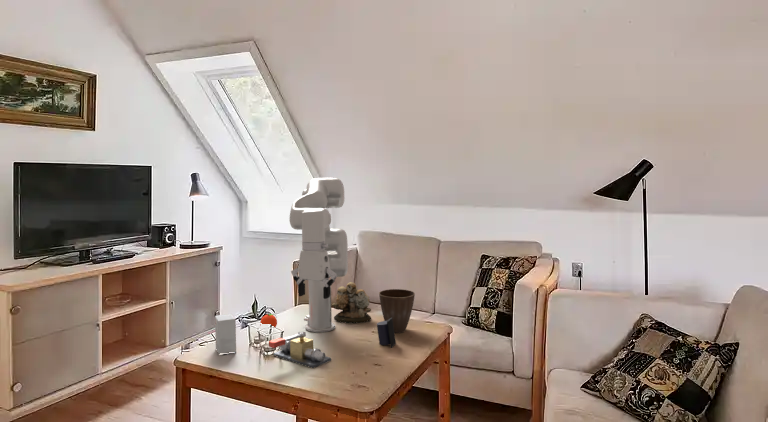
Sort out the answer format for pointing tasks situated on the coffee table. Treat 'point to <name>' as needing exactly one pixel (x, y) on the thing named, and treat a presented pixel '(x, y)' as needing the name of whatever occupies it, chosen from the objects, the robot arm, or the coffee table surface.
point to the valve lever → (285, 340)
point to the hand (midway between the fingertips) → (314, 296)
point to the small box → (225, 333)
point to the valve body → (302, 352)
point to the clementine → (269, 320)
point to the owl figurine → (352, 305)
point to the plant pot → (397, 307)
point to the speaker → (386, 333)
